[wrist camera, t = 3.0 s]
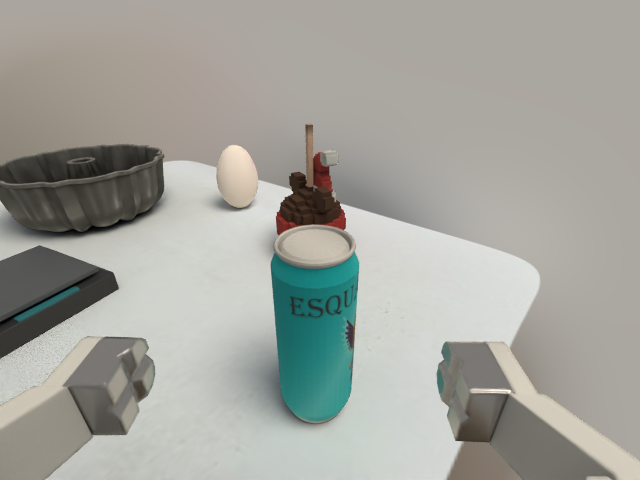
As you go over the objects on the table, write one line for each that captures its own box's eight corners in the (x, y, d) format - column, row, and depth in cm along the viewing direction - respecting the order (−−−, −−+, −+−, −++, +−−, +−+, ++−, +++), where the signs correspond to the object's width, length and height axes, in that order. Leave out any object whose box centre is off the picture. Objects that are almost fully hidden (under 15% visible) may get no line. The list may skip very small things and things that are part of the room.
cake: (268, 242, 53) (258, 121, 44) (321, 229, 57) (321, 116, 48) (298, 276, 44) (292, 135, 36) (357, 258, 48) (365, 128, 40)
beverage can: (356, 428, 26) (369, 263, 19) (281, 435, 26) (267, 268, 19) (344, 368, 31) (351, 220, 24) (281, 373, 31) (270, 224, 24)
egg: (230, 217, 61) (221, 152, 55) (215, 205, 66) (205, 144, 61) (267, 208, 65) (262, 146, 59) (249, 197, 70) (243, 139, 65)
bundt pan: (8, 208, 65) (-17, 156, 60) (152, 180, 79) (142, 137, 75) (5, 266, 47) (-30, 198, 42) (194, 217, 61) (183, 162, 56)
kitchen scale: (-20, 370, 31) (-39, 342, 29) (-86, 323, 37) (-105, 297, 35) (119, 288, 42) (111, 264, 41) (53, 262, 48) (43, 240, 46)
